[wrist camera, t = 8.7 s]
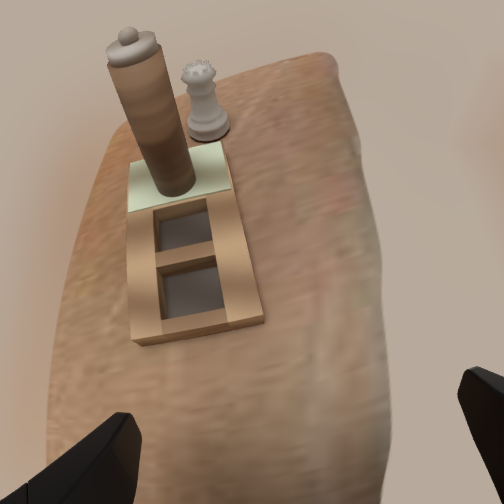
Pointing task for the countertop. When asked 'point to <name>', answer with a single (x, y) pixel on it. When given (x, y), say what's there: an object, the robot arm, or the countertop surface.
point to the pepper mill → (151, 109)
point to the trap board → (188, 255)
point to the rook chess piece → (204, 103)
